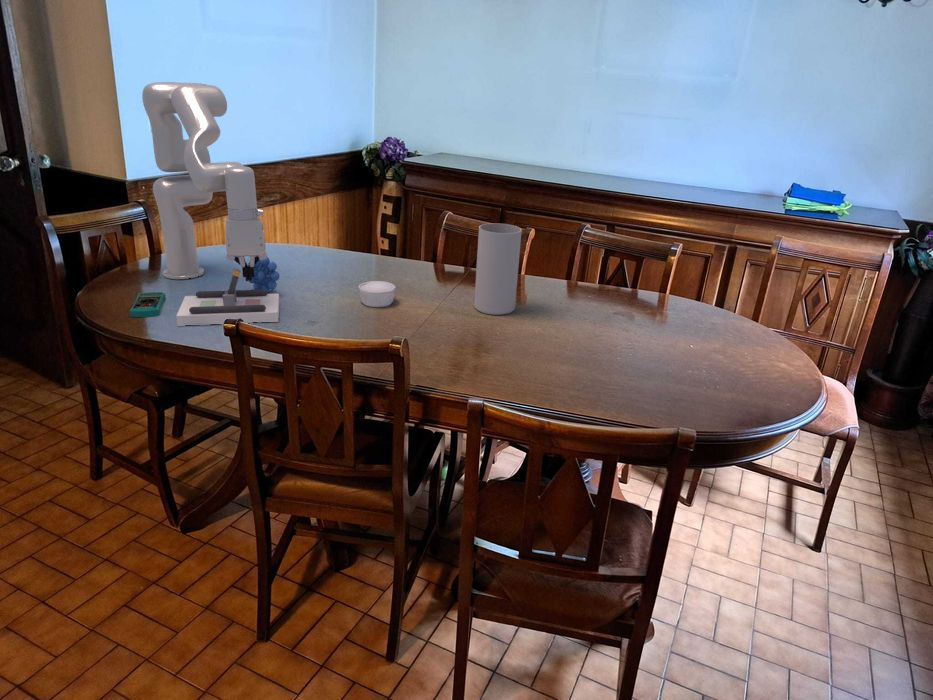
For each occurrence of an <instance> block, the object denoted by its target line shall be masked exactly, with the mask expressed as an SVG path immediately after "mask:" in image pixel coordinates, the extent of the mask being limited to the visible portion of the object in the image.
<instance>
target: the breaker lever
mask: <svg viewBox="0 0 933 700" xmlns="http://www.w3.org/2000/svg"><path fill="white" fill-rule="evenodd" d="M241 271H242V269H239V268H234V269H233V272H232V277H231V280H230V284H229V286H228V289H229V290H228V292H227V293H226V294H234V292H235V289H236V287H237V284H238V281H239V278H240V274H241ZM234 296H235V295H234Z"/></svg>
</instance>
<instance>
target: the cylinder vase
mask: <svg viewBox="0 0 933 700" xmlns="http://www.w3.org/2000/svg"><path fill="white" fill-rule="evenodd" d="M522 231H523V229H522V228H521V227H520V226H517V225H512V224H509V223H508V224H507V223H496V222H495V223H491V222H490V223H484V224H481V225H479V226H478V237H477V254H476V257H477V258H476V271H475V273H476V274H475V288H474V304H473V306H474V308H475V309H476V310H477V311H478V312H480V313H483V314H487V315H493V316H501V315H502V316H503V315H508V314H510V313H512V312H514V311H515V310H516V309H515V308H516V299H517V289H518V288H517V287H518V276H519V267H520V266H519V264H520V253H521V242H522Z"/></svg>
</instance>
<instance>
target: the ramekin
mask: <svg viewBox="0 0 933 700" xmlns="http://www.w3.org/2000/svg"><path fill="white" fill-rule="evenodd" d="M358 291H359V296H360V301H361V302H362V304H363V305H365V306H366V307H372V308H383V307H388V306H390V305H391V304H392V303H393V302H394V298H395V291H396V285H395V284H394V283H391V282H389V281H383V280H382V281H381V280H372V281H371V280H370V281H367V282H366V281H365V282H363V283H360V284H359V285H358Z"/></svg>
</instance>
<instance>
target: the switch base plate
mask: <svg viewBox="0 0 933 700" xmlns="http://www.w3.org/2000/svg"><path fill="white" fill-rule="evenodd" d="M228 290H229V288H227V289H226V288H225V289H224V290H223V291H224V294H225V295H223V297H201V298H198V297H197V296H196V295H185V296H184V298H183V300H182V303H181V305H180V306H179V309H178V311H177V313H176V325H177V327H186V326H185V325H200V326H206V325H205V324H221V325H220V326H223V322H224V320H226V319H229V318H241V319H243V320H244V321H245V322H247V323H250V324H249V325H252V324H254V323H251V322H278V323H279V319H278V318H279V316H280V315H279V314H280V294H279V293H267V295H266V296H237V297H236V288H235V292H234V294H226V293H227V292H228ZM234 295H235V296H234ZM237 305H265V307H266V310H265V311H255V312H225V313H195V314H192V313H190V312H189V309H190V308H191V307H205V306H237Z"/></svg>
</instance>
